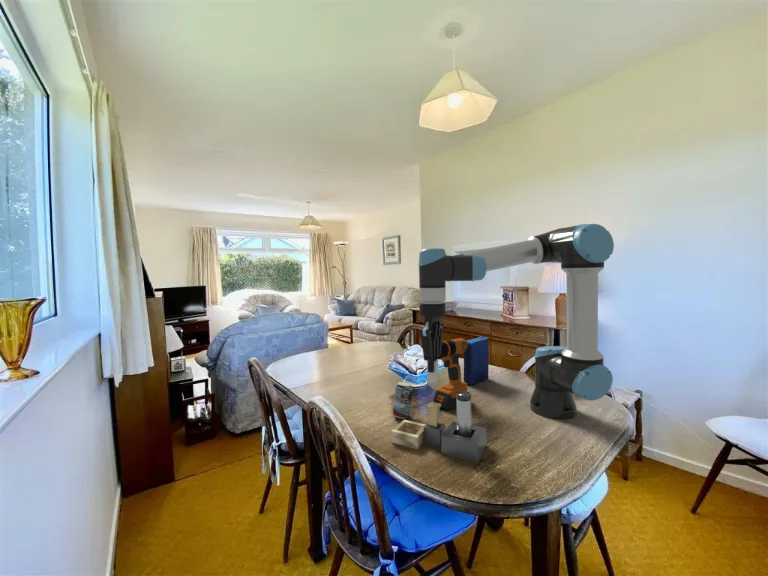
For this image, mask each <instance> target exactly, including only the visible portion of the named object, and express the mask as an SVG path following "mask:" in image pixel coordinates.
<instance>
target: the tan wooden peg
mask: <svg viewBox="0 0 768 576" xmlns="http://www.w3.org/2000/svg"><path fill="white" fill-rule="evenodd" d="M441 408H442V407H441V404H440V403H435V402H434V401H430V402H429V403H428V404H427V405H426V409H428V421H429V427H432V428H437V429H438V428H439V427H440V423H441V422H440V418H441V417H440V409H441Z"/></svg>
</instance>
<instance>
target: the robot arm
mask: <svg viewBox="0 0 768 576" xmlns="http://www.w3.org/2000/svg"><path fill="white" fill-rule="evenodd" d="M614 244H615V243H614V239H613V236H612V234H611V232H610V231H609V230H608V229H606V227H605V226H603V225H601V224H597V223H584V224H577V225H571V226H568V227H567V226H566V227H561V228H560V227H559V228H557V229H553V230H550V231H546V232H545V233H541V234H537V235H533V236H529V237H528V238H527V239H526V240H522V241H518V242H513V243H508V244H504V245H499V246H493V247H489V248H483V249H479V250H474V251H470V252H463V253H458V254H454V255H448V254H447V253H446V249H444V248H437V247H436V248H434V247H433V248H423V249H421V250H420V251H419V255H418V281H419V283H418V284H419V290H418V291H417V292H418V293H417V294H419V296H418V297H419V300H418V301H420V303H419V304H418V306H419V308H418V311H419V312H418V313H419V316H421V317H423V319H424V321H423V328H420V329H419V333H420V337H421V344H422V356H423V360H424V361H425V362H426V361H427V362H426V363H427V365H426V366H427V371H426V372H427V374H426V376H427V377H426V379H427V380H426V382H427V383H429V384H431V383H432V384H437V383H438V382H439V361H442V360H441V357H439V356H440V355H441V345H442V341H443V331H444V327H445V324H444V322H441V317H445V316H446V303H445V301H446V299H447V297H446V296H447V295H446V291H447V290H446V288H447V287H446V282H475V281H482V280H483V279H484V278H485V277H486V275H487V274H486V273H487V272H491V271H495V270H500V269H505V268H509V267H514V266H518V265H519V266H520V265H523V264H529V263H531V264H533V265H538V264H543V263H544V264H545V263H560V267H561V268H560V269H561V271H562V272H564V273H565V274H566V346H560V345H556V346H555V345H549V346H548V345H547V346H540V347H537V348H536V349H535V355H534V360H535V361H534V363H535V365H534V366H535V367H534V368H535V370H534V375H535V377H534V378H535V380H534V381H535V383H534V384H535V385H534V389H533V390H532V391H533V392H532V394H531V396H530V400H529V408H530V410H531V411H532V412H534V413H536V414H537V415H540V416H543V417H545V418H546V417H547V418H551V419H559V420H560V419H561V420H562V419H563V420H564V419H572V418H575V416H577V412H578V411H577V405H576V401H575V399H574V396H573V395H575V396H576V397H578V398H581V399H583V400H587V401H596V400H599V399H601V398H603V397H604V396H606V394H607V393H608V392H610V390H611V388H612V385H613V382H614V381H613V379H614V378H613V374H612V371H611V370H610V369H609V368H608V367H607V366H605V365H604V354H602V352H600V351H599V346H598V345H599V344H598V343H599V342H598V341H599V324H598V323H599V273H600V272H601V271H603V270H604V268H605V262H606V261H607V260H608V259H610V258H611V255H612V254H613V252H614V249H615V248H614V247H615V245H614ZM438 360H439V361H438Z"/></svg>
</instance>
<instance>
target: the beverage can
mask: <svg viewBox="0 0 768 576" xmlns="http://www.w3.org/2000/svg"><path fill="white" fill-rule="evenodd" d="M412 399H413V387H412V383H409V382H405V381H399V382H397V384H396V386H395V389H394V398H393V406H392V407H393V410H392V414H393V415H394V416H395V417H396V418H398V419H407V418H408V417H410V416H411V409H412V408H411V405H412Z"/></svg>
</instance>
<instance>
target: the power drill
mask: <svg viewBox="0 0 768 576" xmlns="http://www.w3.org/2000/svg"><path fill="white" fill-rule="evenodd" d="M466 341H467V340H466V339H464V338H462V337H460V338H454V339H447V340H443V339H442V345H441V355H440V356H439V357H441V360H440V361H441V362H443V367H444V368H447V374H448V380H449V383H448V384H444V385H442V386H441V387H438V388H437V389H435V393H434V397H433V400H432V402H435V403H440V404H441V407H440V408H443V409H446V410H449V411H451V410H454V409H457V398H456V393H457V392H468V384H467V383H465V382H464V381H463V382H462V371H461V370H462V369H461V366H460V361H459V359H460V357H462V356H464V351H466V350H467V348H468V344H467V342H466Z"/></svg>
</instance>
